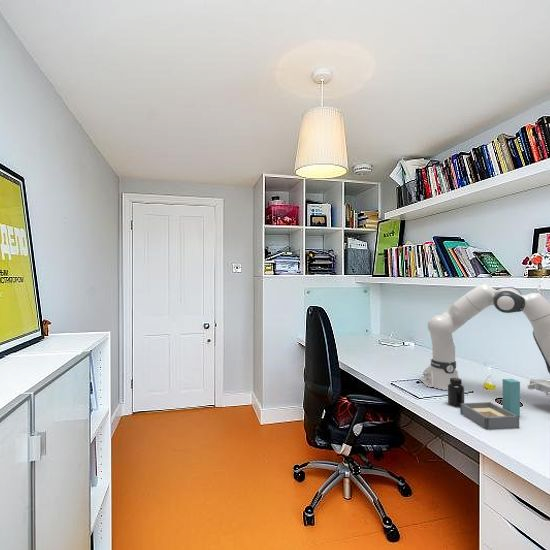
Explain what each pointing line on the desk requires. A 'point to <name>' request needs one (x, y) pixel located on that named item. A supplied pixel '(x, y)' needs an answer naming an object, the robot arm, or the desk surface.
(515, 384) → the peg
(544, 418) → the desk surface
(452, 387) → the supplement bottle
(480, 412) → the open box
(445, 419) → the desk surface
